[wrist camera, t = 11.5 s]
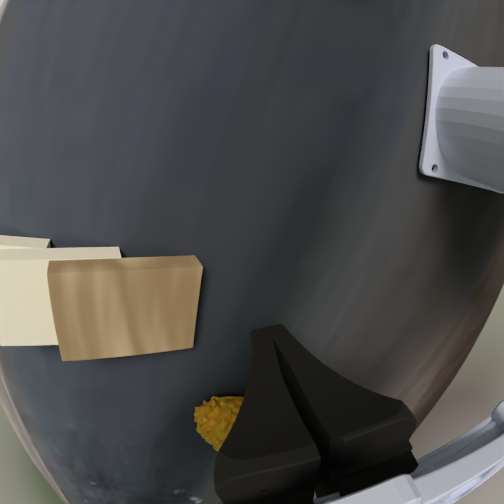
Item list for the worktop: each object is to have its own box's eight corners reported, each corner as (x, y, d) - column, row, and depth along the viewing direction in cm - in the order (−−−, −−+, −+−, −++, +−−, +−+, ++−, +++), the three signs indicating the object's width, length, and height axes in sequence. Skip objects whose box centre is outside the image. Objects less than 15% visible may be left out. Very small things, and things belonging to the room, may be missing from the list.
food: (392, 416, 27) (417, 458, 21) (354, 447, 28) (374, 489, 23) (211, 363, 19) (222, 441, 14) (172, 410, 20) (174, 480, 15)
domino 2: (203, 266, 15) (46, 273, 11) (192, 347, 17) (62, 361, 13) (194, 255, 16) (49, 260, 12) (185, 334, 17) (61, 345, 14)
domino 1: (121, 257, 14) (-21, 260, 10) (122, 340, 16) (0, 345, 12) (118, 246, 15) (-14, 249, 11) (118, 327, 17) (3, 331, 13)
